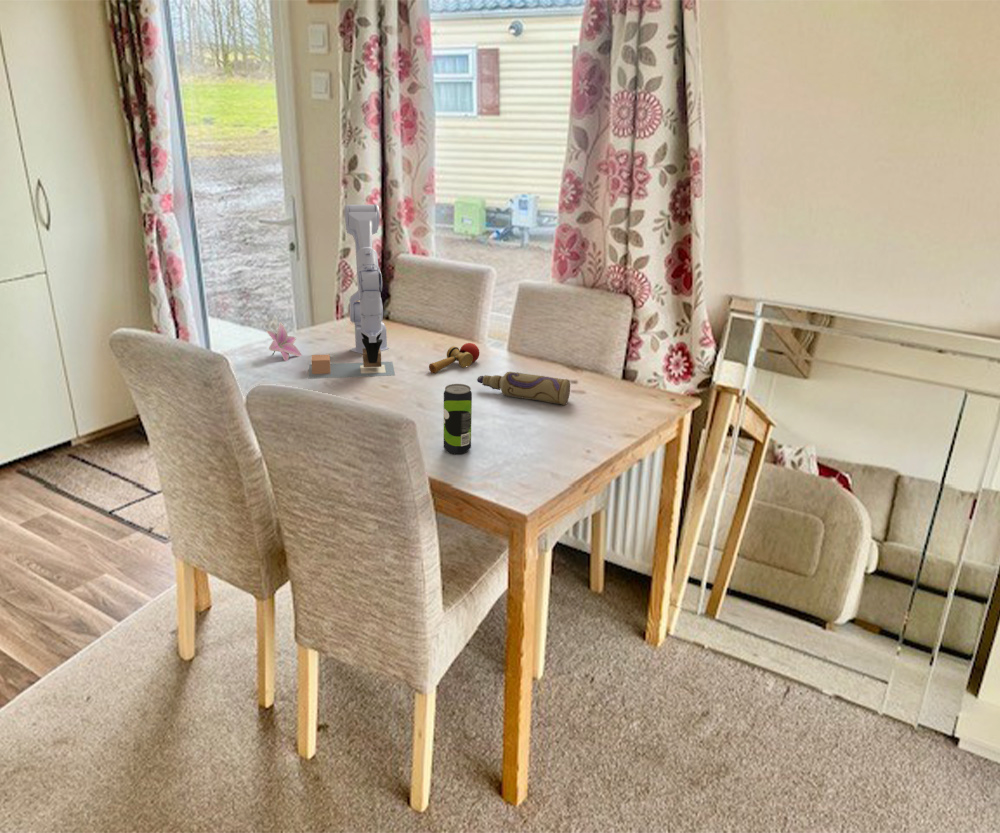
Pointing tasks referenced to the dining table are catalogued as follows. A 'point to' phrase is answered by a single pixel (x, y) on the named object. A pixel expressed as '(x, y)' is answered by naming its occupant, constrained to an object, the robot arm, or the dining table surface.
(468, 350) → the kendama
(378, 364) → the walnut block
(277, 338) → the lily
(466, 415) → the beverage can
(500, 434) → the dining table surface
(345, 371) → the board
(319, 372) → the terracotta block
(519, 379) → the decorative bottle
